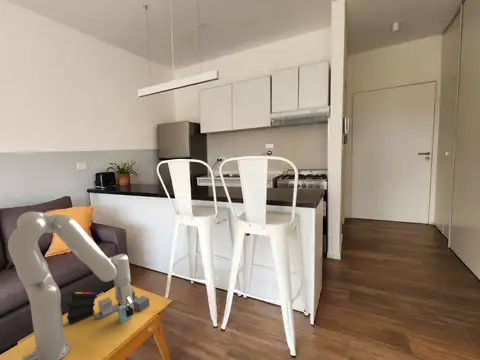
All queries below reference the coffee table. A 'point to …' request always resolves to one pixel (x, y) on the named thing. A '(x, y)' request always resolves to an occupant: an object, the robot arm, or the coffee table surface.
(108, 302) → the rail
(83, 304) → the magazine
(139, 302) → the gray brick
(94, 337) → the coffee table surface
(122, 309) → the block
